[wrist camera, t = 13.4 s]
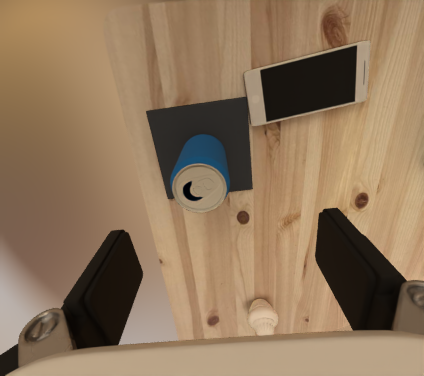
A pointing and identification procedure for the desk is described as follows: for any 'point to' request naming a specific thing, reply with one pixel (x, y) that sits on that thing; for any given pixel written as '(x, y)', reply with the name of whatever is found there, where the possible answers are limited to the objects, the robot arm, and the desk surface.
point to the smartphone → (308, 84)
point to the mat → (204, 124)
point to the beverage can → (201, 174)
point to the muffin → (262, 317)
